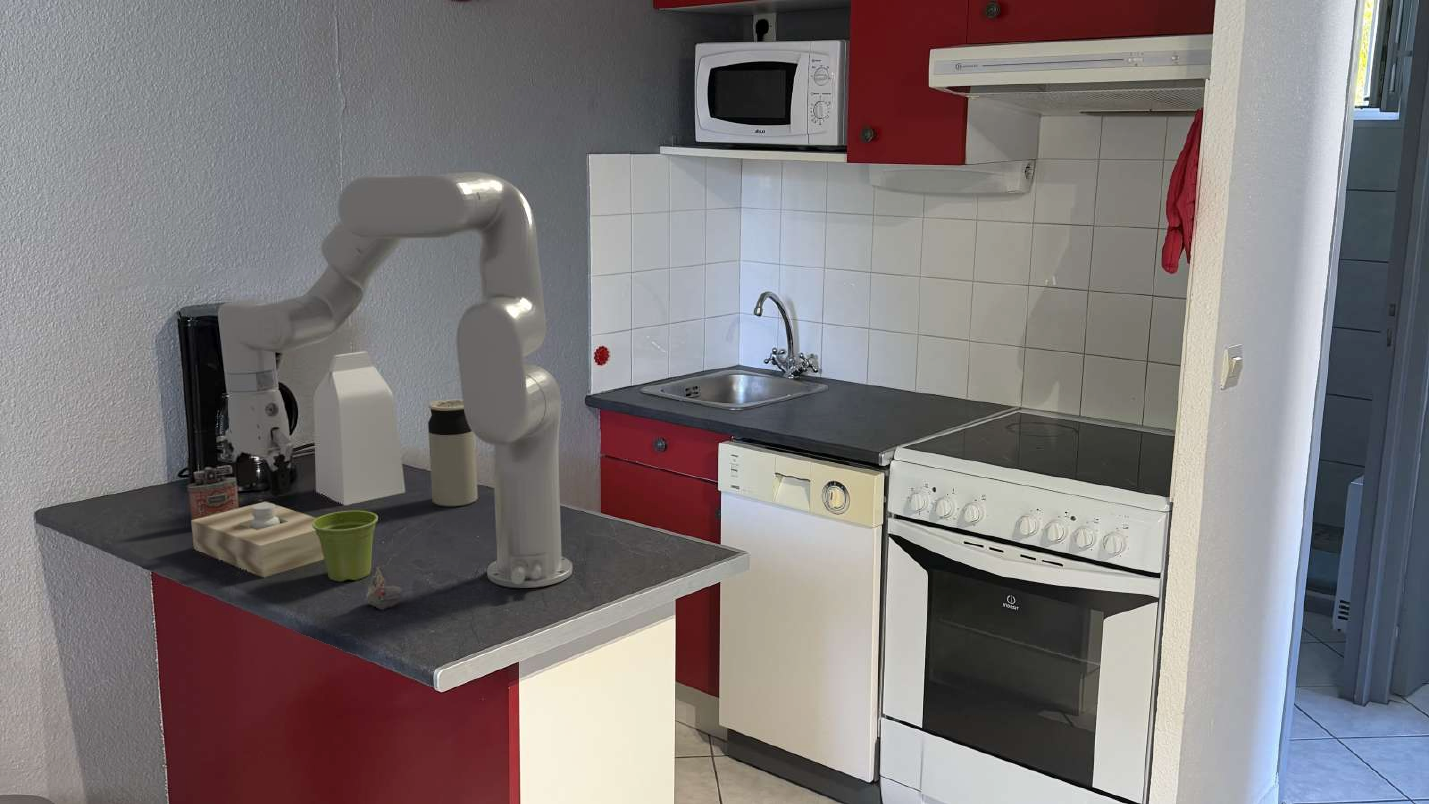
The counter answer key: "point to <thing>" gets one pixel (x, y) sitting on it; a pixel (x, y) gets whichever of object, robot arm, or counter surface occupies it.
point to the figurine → (383, 593)
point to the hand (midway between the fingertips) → (263, 489)
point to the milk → (356, 433)
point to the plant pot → (346, 543)
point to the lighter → (212, 492)
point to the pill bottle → (263, 516)
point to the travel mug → (451, 455)
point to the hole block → (258, 540)
